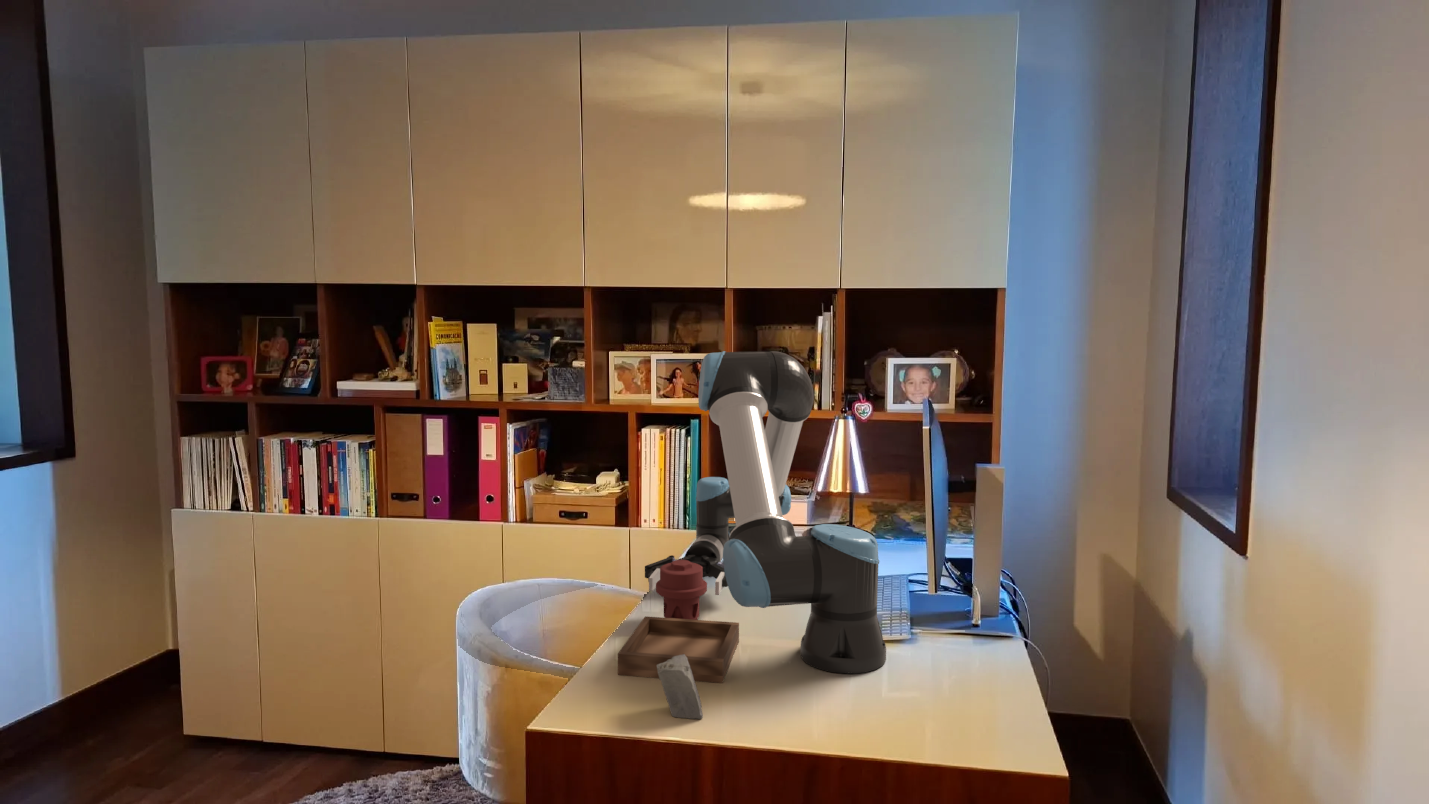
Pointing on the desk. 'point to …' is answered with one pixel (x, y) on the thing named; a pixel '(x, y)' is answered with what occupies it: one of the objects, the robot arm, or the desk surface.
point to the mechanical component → (681, 589)
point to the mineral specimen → (680, 688)
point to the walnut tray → (680, 647)
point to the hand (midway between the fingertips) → (683, 586)
